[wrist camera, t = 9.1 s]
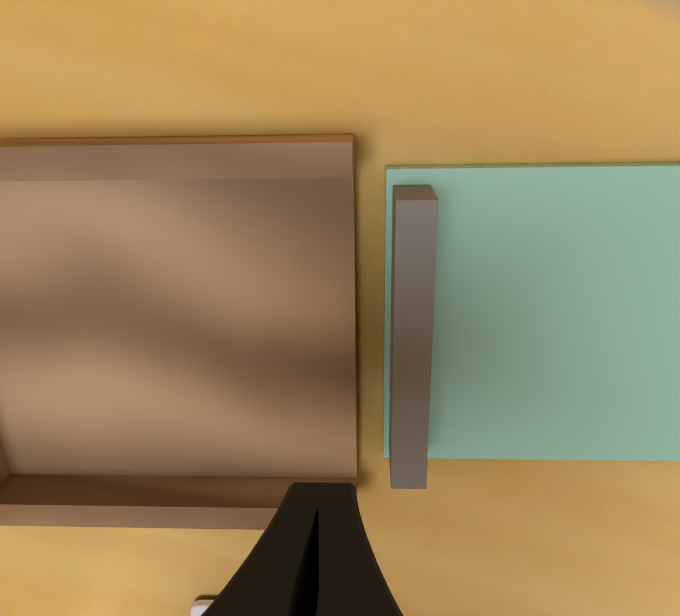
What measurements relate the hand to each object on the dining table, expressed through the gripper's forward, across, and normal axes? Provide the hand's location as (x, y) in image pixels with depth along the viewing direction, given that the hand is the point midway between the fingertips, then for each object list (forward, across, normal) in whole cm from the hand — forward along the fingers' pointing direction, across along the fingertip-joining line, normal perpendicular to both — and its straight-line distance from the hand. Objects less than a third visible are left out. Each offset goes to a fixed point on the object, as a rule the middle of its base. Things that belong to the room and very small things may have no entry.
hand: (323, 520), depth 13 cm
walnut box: (+10, +7, 0) cm, 12 cm away
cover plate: (+10, -8, -1) cm, 13 cm away
